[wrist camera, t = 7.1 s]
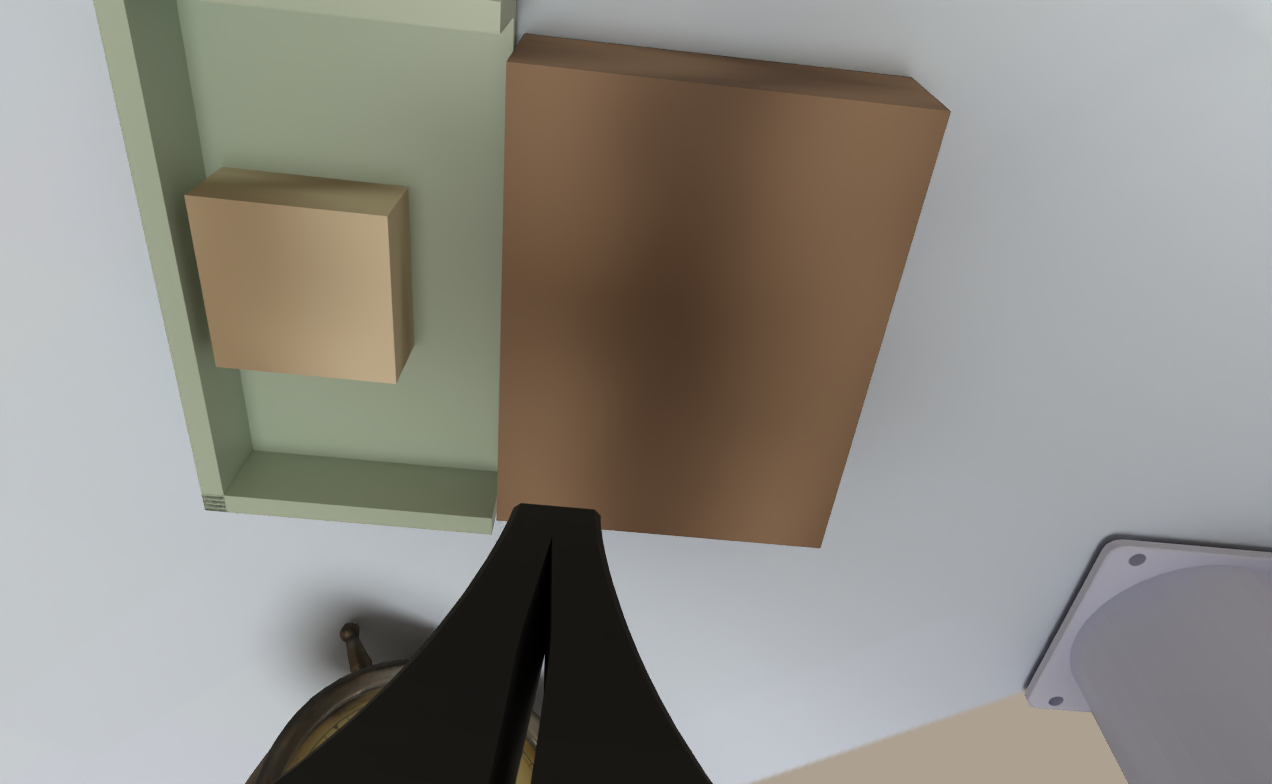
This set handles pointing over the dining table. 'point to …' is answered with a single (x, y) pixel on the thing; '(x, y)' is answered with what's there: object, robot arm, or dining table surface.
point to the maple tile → (304, 273)
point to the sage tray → (348, 150)
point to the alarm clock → (350, 714)
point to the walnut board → (697, 281)
